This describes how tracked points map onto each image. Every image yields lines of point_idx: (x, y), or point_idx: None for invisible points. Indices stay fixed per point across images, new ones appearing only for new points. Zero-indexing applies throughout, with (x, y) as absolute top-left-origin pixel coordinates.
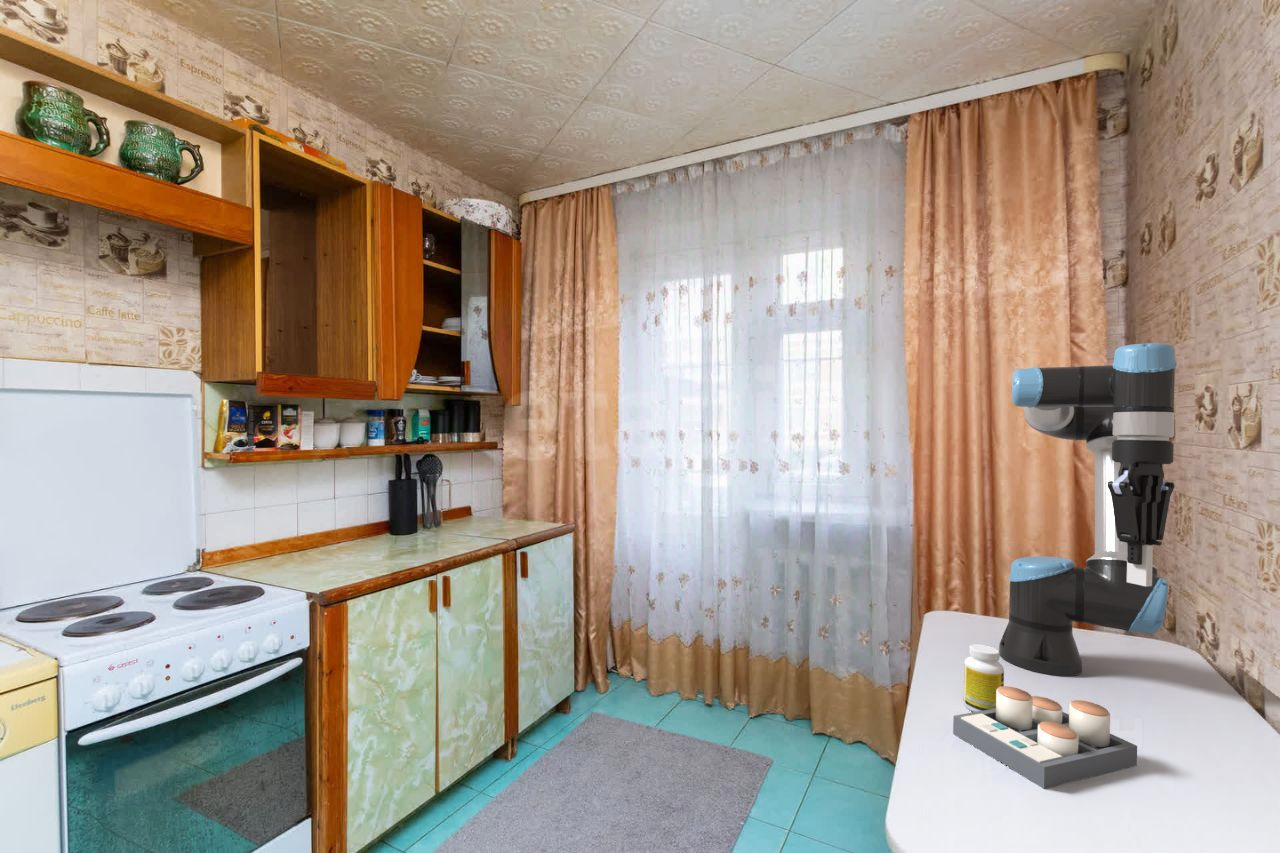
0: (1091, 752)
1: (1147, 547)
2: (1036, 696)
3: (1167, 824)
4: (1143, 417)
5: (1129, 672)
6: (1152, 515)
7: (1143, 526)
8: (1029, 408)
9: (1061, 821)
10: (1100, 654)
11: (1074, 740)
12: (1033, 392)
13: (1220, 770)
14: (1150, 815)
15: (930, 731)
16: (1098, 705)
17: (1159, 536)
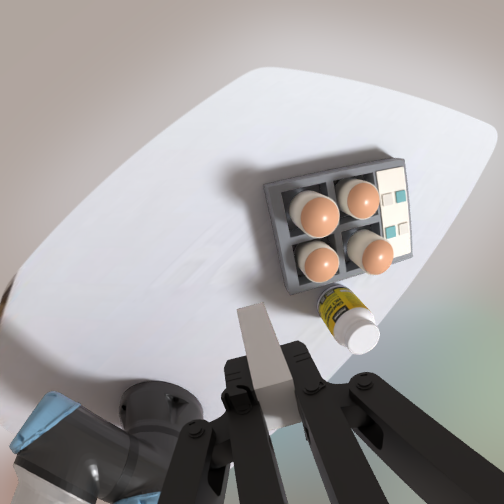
0: (337, 177)
1: (286, 376)
2: (318, 280)
3: (330, 97)
4: None
5: (71, 384)
6: (280, 499)
7: (336, 435)
8: None
9: (411, 118)
10: None
11: (360, 181)
12: None
13: (168, 173)
14: (333, 109)
15: (417, 256)
16: (303, 221)
17: (207, 429)
